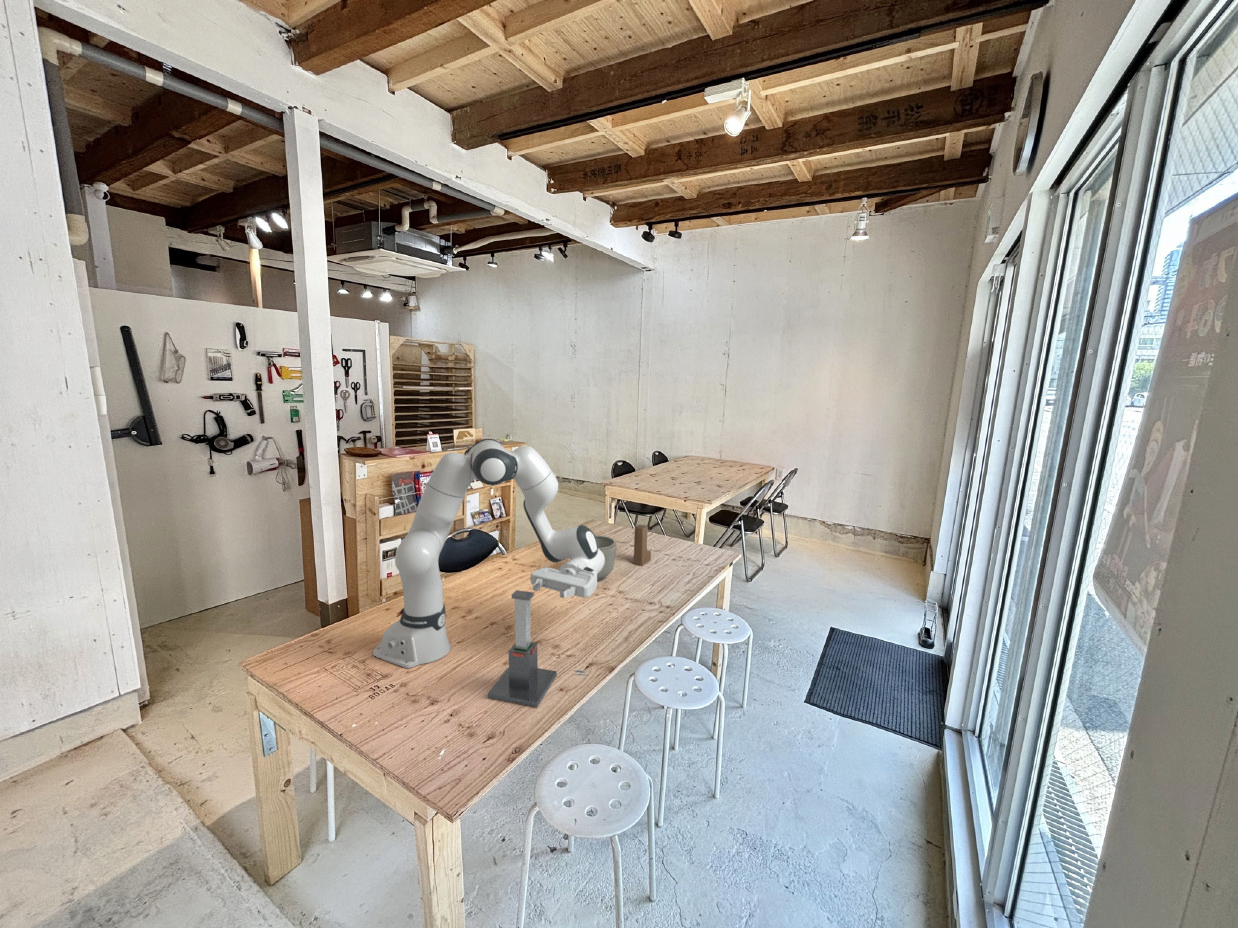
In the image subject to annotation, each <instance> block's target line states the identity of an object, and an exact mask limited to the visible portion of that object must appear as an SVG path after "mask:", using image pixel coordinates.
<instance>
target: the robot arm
mask: <svg viewBox="0 0 1238 928" xmlns="http://www.w3.org/2000/svg"><path fill="white" fill-rule="evenodd" d="M428 479H429V480H427V483H426V486H425V488H424V491H423V493H422V495H421V497H420V500H419V502H418V505H417V507H416V511H415V514H414V517H413V520H412V523H411V525H410V528H409V530H408V531H407V533H406V535H405V537H404V538H403V539H402V541H401V542H400V544H398V546H397V548H396V551H395V557H394V558H395V559H394V565H395V567H396V569H397V570H398V572H399V577H400V579H401V580H400V581H401V584H402V591H403V592H402V593H403V607H402V608H401V610H400V611H398V612H397V613H396V617H397V618H399V616H400V619H398V620H397V621H396V622H395V623H393V624H392V625H390V626H389V627H388V628H387V629H386V630H385V631H384V633H383V635H382V636H381V641H380V643H379V644H378V645H377V646H376V647H375V648H374V650H373V655H372V656H373V657H375V656H376V657H375V658H377V659H380V658H381V660H383V661H386V662H389V663H391V664H393V665H394V664H395V665H397V666H399V667H403V668H406V669H411V668H413V667H416V666H419V665H425V664H428V663H432V662H436V661H438V660H441V659H442V658H444V657H446V655H448V653H449V652H451V649H452V645H451V643H450V640H449V637H448V633H447V628H446V605H445V603H444V587H443V586H444V585H443V580H442V578H441V574H440V572H441V571H440V567H439V558H440V554H441V552H442V549H443V548H444V546H445V543H446V541H447V538H448V536H449V534H450V532H451V529H452V528H453V527H452V526H453V525H454V522H455V519H456V517H457V515H458V514H459V513H458V512H459V510H460V507H461V506H462V503H463V501H464V499H465V496H466V494H467V492H468V489H469V487H470V486H471V483H473V482H474V481H475V480H476V479H477V480H478V481H479V482H481V483H482V484H484V485H488V486H495V485H500V484H502V483H505V482H507V481H511V480H513V481H514V482H515V483H516V484H517V486H518V488H519V489H520V490H521V492H522V493H523V497H524V498H523V499H524V500H523V509H524V512H525V514H526V517H527V519H528V521H529V522H530V525H531V527H532V529H533V531H534V533H535V536H536V537H537V540H538V541H539V544H540V547H541V548H540V549H541V551H542V553H543V555H544V557H545V558H546V559H547V560H548V561H550V562H551V563H555V564H557V563H560V562H562V561H564V560H568V559H570V560H568V561H567V562H565V563H563V564H562V565H560V567H559V569H557V568H553V567H547V566H546V567H541V568H539V569H536V570H534V571H532V572H531V573H530V584H531V585H532V591H535V592H538V591H540V590H541V588H544V589H547V590H551V591H556V592H559V597H560V598H563V599H566V598H567V597H573V596H576V597H580V598H589V597H591V596H592V594H594V592H596V591H597V588H598V587H597V586H598V581H597V574H598V573H599V572H600V571H601V570H602V568H603V566H604V563H605V557H604V554H603V553H602V551H601V550H600V549H598V545H597V540H596V537H595V535H596V534H595V533H594V532H593V531H592V530H591V529H590V527H588V526H586V525H583V524H581V525H575V526H573V527H569V528H565V529H563V530H555V529H553V528H552V525H551V523H550V521H549V519H548V518H547V515H546V513H545V508H547V507H548V506H549V505H550V504H551V503H552V502H553V501H554V499H555V498H556V496H557V494H558V492H559V482H558V478H557V477H556V475H555V473H554V472H553V470H552V469H551V468H550V466H549V465H548V463H547V462H546V461H545V459H544V458H543V457H542V455H541V454H540V453H539V452H538V451H537V450H536V449H534V448H533V447H531V446H529V445H523V446H519V447H517V448H515V449H513V450H507V449H506V448H505V447H504V445H503V444H502V443H501V442H499V441H498V440H496V439H495V438H494V439H493V438H483V439H480V440H478V441H477V442H475V443H474V444H473V445H471V446H470V447H469V448H467V449H466V450H465V452H464V453H459V452H448V453H445V454H444V455H443V456H442V457H441V459H440V460H439V461H438V463H437V464H436V466H435V468H434V470H433V471H432V473H431V475H430V477H429V478H428Z"/></svg>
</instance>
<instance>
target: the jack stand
mask: <svg viewBox="0 0 1238 928" xmlns="http://www.w3.org/2000/svg"><path fill="white" fill-rule="evenodd" d="M515 647H516V642H514V644H513V645H512V647H511V648H510V649H509V650H508V667H507V668H506V669H505V671H504V672H503V673H502V674H501V676H500V677H499V679H498V680H497V681H496V682H495V683H494V685H493V686H492V687H491V688H490V690H489V691H488V692H487V698H488V699H491V700H497V701H500V702H501V701H502V702H508V703H511V704H518V705H522V706H526V707H527V706H528V707H533V708H538V707H539V705H540V704H541V702H542V701H543V699H544V698H545V696H546V694H548V693H547V692H548V691H549V689H550V688H551V686H552V684H553V683H554V681H555V679H556V677H557V676H558V675H557V672H558V670H550V669H546V668H545V669H544V668H539V667H538V665H539V663H538V661H539V659H538V642H534V641H531V647H530V648H529V649H528V651H527V652H526V651H520V650H515Z"/></svg>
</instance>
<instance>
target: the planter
mask: <svg viewBox="0 0 1238 928" xmlns="http://www.w3.org/2000/svg"><path fill="white" fill-rule="evenodd" d="M594 535H595V537H596V540H597V545H598V549H600V550H601V551H602V553H603V554H604V557H605V563H604V566H603V568H602V570H601V571H600V572H599V573H598V574H597V582H601V581H604V579H606V577H608V576H609V575H610V574H611V573H612V572H613V570H614V567H615V560H616V554H617V553H616V551H617V541H616V539H614V538H613V537H610V536H606V535H600V534H598V535H597V534H594Z"/></svg>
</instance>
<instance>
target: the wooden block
mask: <svg viewBox="0 0 1238 928" xmlns="http://www.w3.org/2000/svg"><path fill="white" fill-rule="evenodd" d="M648 528H649V527H648V525H645V524H644V525H643V524H638V525H635V526H634V539H633V540H634V541H633V549H634V550H633V565H637V566H641V567H643V566H644V565H646V564H647V563H648V562H650V561H651V560H652V557H651V556H652V551H651V550H648Z"/></svg>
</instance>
